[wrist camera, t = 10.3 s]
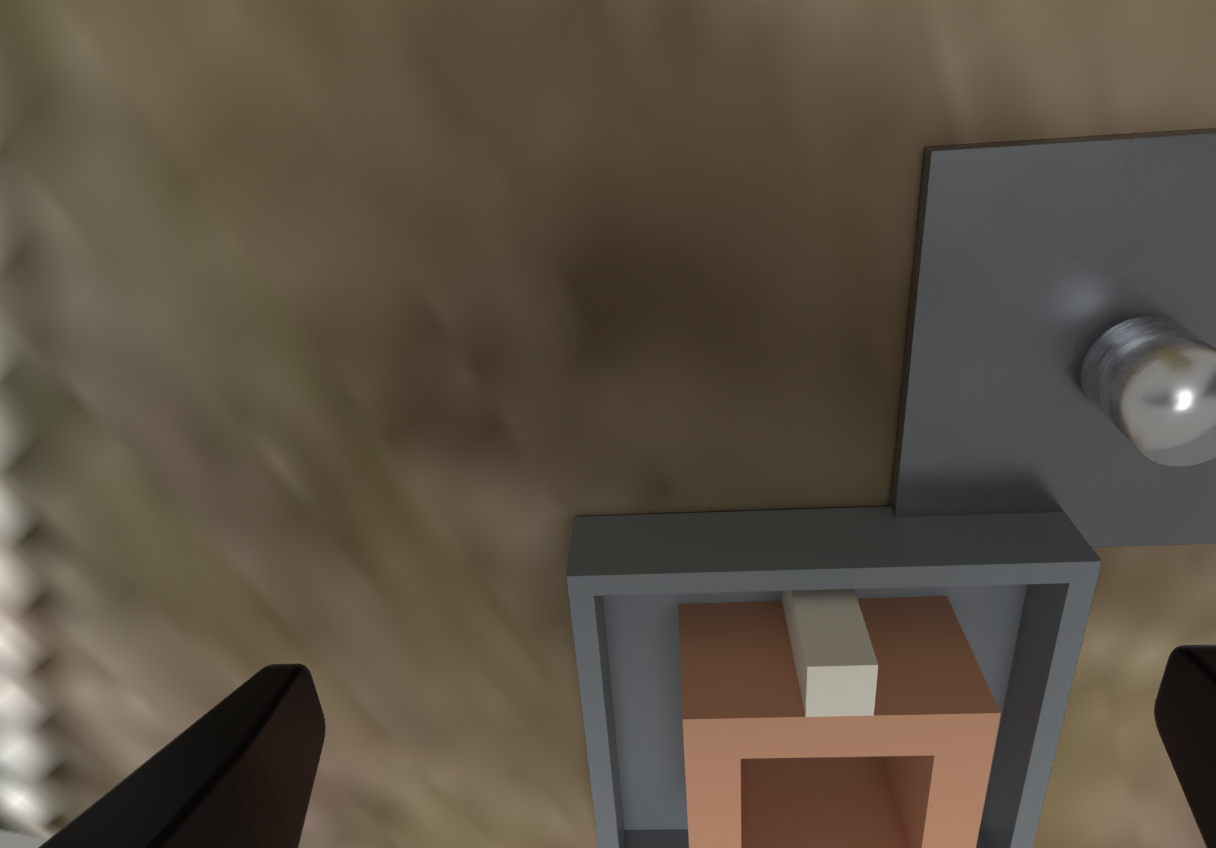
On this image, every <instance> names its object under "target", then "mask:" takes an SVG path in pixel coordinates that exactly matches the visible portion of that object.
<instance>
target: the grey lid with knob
mask: <svg viewBox="0 0 1216 848" xmlns="http://www.w3.org/2000/svg"><path fill="white" fill-rule="evenodd" d="M890 507H891V509H892V512H893V514H894V516H895V517H921V516H952V515H983V514H1013V513H1044V512H1065V513H1066V514H1067V516H1068V517H1069V518H1070V520H1071V521H1072V522H1073V524H1074V525H1075V526H1076V528H1077V529H1078V530H1079V532H1080V533H1081V534H1082V536H1083V537H1084V538H1085V540H1086V541H1087V542H1088V544H1089V545H1090V546H1091V547H1114V546H1148V545H1182V544H1216V128H1213V129H1197V130H1182V131H1166V132H1150V133H1134V134H1119V135H1103V136H1087V137H1071V138H1056V139H1040V140H1024V141H1008V142H993V143H977V144H961V145H945V146H930V147H925V152H924V162H923V172H922V182H921V193H920V203H919V213H918V224H917V234H916V244H915V255H914V265H913V275H912V286H911V296H910V306H909V317H908V327H907V337H906V347H905V358H904V368H903V378H902V389H901V399H900V409H899V420H898V430H897V440H896V451H895V461H894V471H893V482H892V492H891V502H890Z"/></svg>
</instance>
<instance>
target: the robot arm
mask: <svg viewBox="0 0 1216 848" xmlns="http://www.w3.org/2000/svg"><path fill="white" fill-rule="evenodd" d="M1154 715H1155V721H1156V726H1157V729H1158V731H1159V734H1160V736H1161V739H1162V741H1163V744H1164V746H1165V748H1166V751H1167V753H1168V756H1169V758H1170V760H1171V763H1172V765H1173V768H1174V770H1175V772H1176V775H1177V777H1178V780H1179V782H1180V785H1181V787H1182V789H1183V792H1184V794H1185V797H1186V799H1187V801H1188V804H1189V806H1190V809H1191V811H1192V813H1193V816H1194V818H1195V821H1196V823H1197V825H1198V828H1199V830H1200V833H1201V835H1202V838H1203V840H1204V842H1205V845H1206V847H1207V848H1216V645H1183V646H1179V647H1176V648H1175V649H1174V650H1173V651H1172V652H1171V654H1170V656H1169V659H1168V662H1167V665H1166V668H1165V672H1164V675H1163V678H1162V681H1161V685H1160V688H1159V691H1158V694H1157V698H1156V701H1155V707H1154ZM324 738H325V719H324V714H323V711H322V708H321V705H320V701H319V698H318V695H317V692H316V688H315V685H314V682H313V679H312V676H311V673H310V671H309V669H308V668H307V667H306V666H305V665H302V664H273V665H268V666H266V667H264V668H263V669H261V670H260V671H259V672H257V673H256V674H255V675H254V676H252V677H251V678H250V679H249V680H247V681H246V682H245V683H244V684H242V685H241V686H240V687H239V688H237V689H236V690H235V691H234V692H232V693H231V694H230V695H229V696H227V697H226V698H225V699H224V700H222V701H221V702H220V703H219V704H217V705H216V706H215V707H214V708H212V709H211V710H210V711H209V712H207V713H206V714H205V715H204V716H202V717H201V718H200V719H199V720H197V721H196V722H195V723H194V724H192V725H191V726H190V727H189V728H187V729H186V730H185V731H184V732H182V733H181V734H180V735H179V736H177V737H176V738H175V739H174V740H172V741H171V742H170V743H169V744H167V745H166V746H165V747H164V748H162V749H161V750H160V751H159V752H157V753H156V754H155V755H154V756H152V757H151V758H150V759H149V760H147V761H146V762H145V763H144V764H142V765H141V766H140V767H139V768H137V769H136V770H135V771H134V772H132V773H131V774H130V775H129V776H128V777H126V778H125V779H124V780H123V781H121V782H120V783H119V784H118V785H116V786H115V787H114V788H113V789H111V790H110V791H109V792H108V793H106V794H105V795H104V796H103V797H101V798H100V799H99V800H98V801H96V802H95V803H94V804H93V805H91V806H90V807H89V808H88V809H86V810H85V811H84V812H83V813H81V814H80V815H79V816H78V817H76V818H75V819H74V820H73V821H71V822H70V823H69V824H68V825H66V826H65V827H64V828H63V829H61V830H60V831H59V832H58V833H56V834H55V835H54V836H53V837H51V838H50V839H49V840H48V841H46V842H45V843H44V844H43V845H41V846H40V847H39V848H298V846H299V842H300V838H301V834H302V829H303V825H304V821H305V817H306V813H307V809H308V805H309V801H310V796H311V792H312V788H313V784H314V780H315V776H316V772H317V768H318V763H319V759H320V755H321V751H322V747H323V743H324Z"/></svg>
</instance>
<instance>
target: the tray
mask: <svg viewBox="0 0 1216 848" xmlns="http://www.w3.org/2000/svg"><path fill="white" fill-rule="evenodd" d="M1101 562H1102V561H1101V560H1100V558H1099V557H1098V556H1097V554H1096V553H1095V552H1094V550H1093V549H1092V548H1091V546H1090V545H1089V544H1088V542H1087V541H1086V540H1085V538H1084V537H1083V536H1082V534H1081V533H1080V532H1079V530H1078V529H1077V528H1076V526H1075V525H1074V524H1073V522H1072V521H1071V520H1070V518H1069V517H1068V516H1067V514H1066V513H1065V512H1044V513H1013V514H983V515H952V516H921V517H895V516H894V514H893V512H892V509H891V507H890V506H883V507H853V508H823V509H793V510H763V511H733V512H702V513H672V514H642V515H612V516H582V517H575V520H574V527H573V534H572V541H571V548H570V555H569V562H568V569H567V576H566V577H567V585H568V594H569V602H570V611H571V619H572V628H573V637H574V645H575V654H576V662H577V671H578V679H579V688H580V696H581V705H582V713H583V722H584V730H585V739H586V747H587V756H588V765H589V773H590V782H591V790H592V799H593V807H594V816H595V824H596V833H597V841H598V848H689V836H688V816H687V797H686V777H685V758H684V738H683V719H682V693H681V666H680V640H679V614H678V604H695V603H728V602H762V601H782V591H791V590H829V589H854V591H855V594H856V597H857V599H861V598H894V597H927V596H947V598H948V600H949V602H950V604H951V606H952V608H953V611H954V613H955V615H956V617H957V619H958V621H959V624H960V626H961V628H962V630H963V632H964V634H965V637H966V639H967V641H968V643H969V645H970V647H971V649H972V652H973V654H974V656H975V658H976V660H977V662H978V665H979V667H980V669H981V671H982V673H983V675H984V678H985V680H986V682H987V684H988V686H989V688H990V691H991V693H992V695H993V697H994V699H995V701H996V703H997V706H998V708H999V710H1000V712H1001V715H1000V721H999V726H998V732H997V737H996V742H995V748H994V753H993V758H992V764H991V769H990V775H989V780H988V785H987V791H986V796H985V802H984V807H983V812H982V818H981V823H980V828H979V834H978V839H977V845H976V848H1032V847H1033V843H1034V839H1035V835H1036V831H1037V826H1038V822H1039V818H1040V814H1041V810H1042V806H1043V802H1044V798H1045V793H1046V789H1047V785H1048V781H1049V777H1050V773H1051V769H1052V764H1053V760H1054V756H1055V752H1056V748H1057V744H1058V740H1059V736H1060V731H1061V727H1062V723H1063V719H1064V715H1065V711H1066V707H1067V703H1068V698H1069V694H1070V690H1071V686H1072V682H1073V678H1074V674H1075V669H1076V665H1077V661H1078V657H1079V653H1080V649H1081V645H1082V641H1083V636H1084V632H1085V628H1086V624H1087V620H1088V616H1089V612H1090V608H1091V603H1092V599H1093V595H1094V591H1095V587H1096V583H1097V579H1098V574H1099V570H1100V566H1101Z"/></svg>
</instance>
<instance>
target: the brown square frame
mask: <svg viewBox="0 0 1216 848" xmlns="http://www.w3.org/2000/svg"><path fill="white" fill-rule="evenodd" d="M678 614H679V640H680V666H681V693H682V719H683V738H684V758H685V777H686V797H687V816H688V836H689V848H976V845H977V839H978V834H979V828H980V823H981V818H982V812H983V807H984V802H985V796H986V791H987V785H988V780H989V775H990V769H991V764H992V758H993V753H994V748H995V742H996V737H997V732H998V726H999V721H1000V715H1001V712H1000V710H999V708H998V706H997V703H996V701H995V699H994V697H993V695H992V693H991V691H990V688H989V686H988V684H987V682H986V680H985V678H984V675H983V673H982V671H981V669H980V667H979V665H978V662H977V660H976V658H975V656H974V654H973V652H972V649H971V647H970V645H969V643H968V641H967V639H966V637H965V634H964V632H963V630H962V628H961V626H960V624H959V621H958V619H957V617H956V615H955V613H954V611H953V608H952V606H951V604H950V602H949V600H948V598H947V596H927V597H894V598H861V599H857V597H856V594H855V591H854V589H829V590H791V591H782V601H762V602H728V603H695V604H678Z"/></svg>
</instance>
